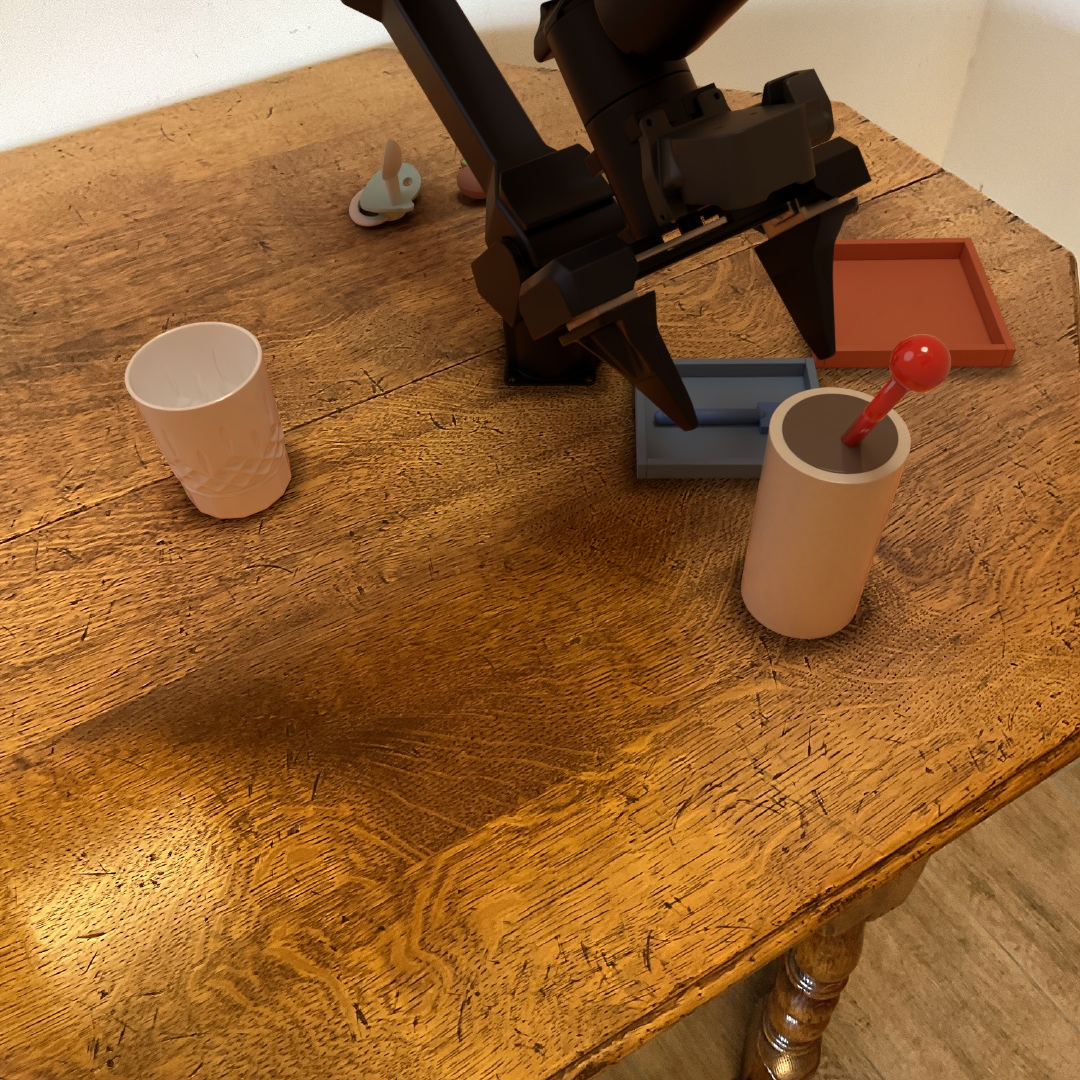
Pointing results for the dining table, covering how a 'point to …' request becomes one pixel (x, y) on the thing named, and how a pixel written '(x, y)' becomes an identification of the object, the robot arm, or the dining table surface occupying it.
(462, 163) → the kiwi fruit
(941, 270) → the terracotta tray
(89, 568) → the dining table surface
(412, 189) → the pacifier
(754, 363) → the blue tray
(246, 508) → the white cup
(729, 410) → the blue spatula
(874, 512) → the beige spoon holder
